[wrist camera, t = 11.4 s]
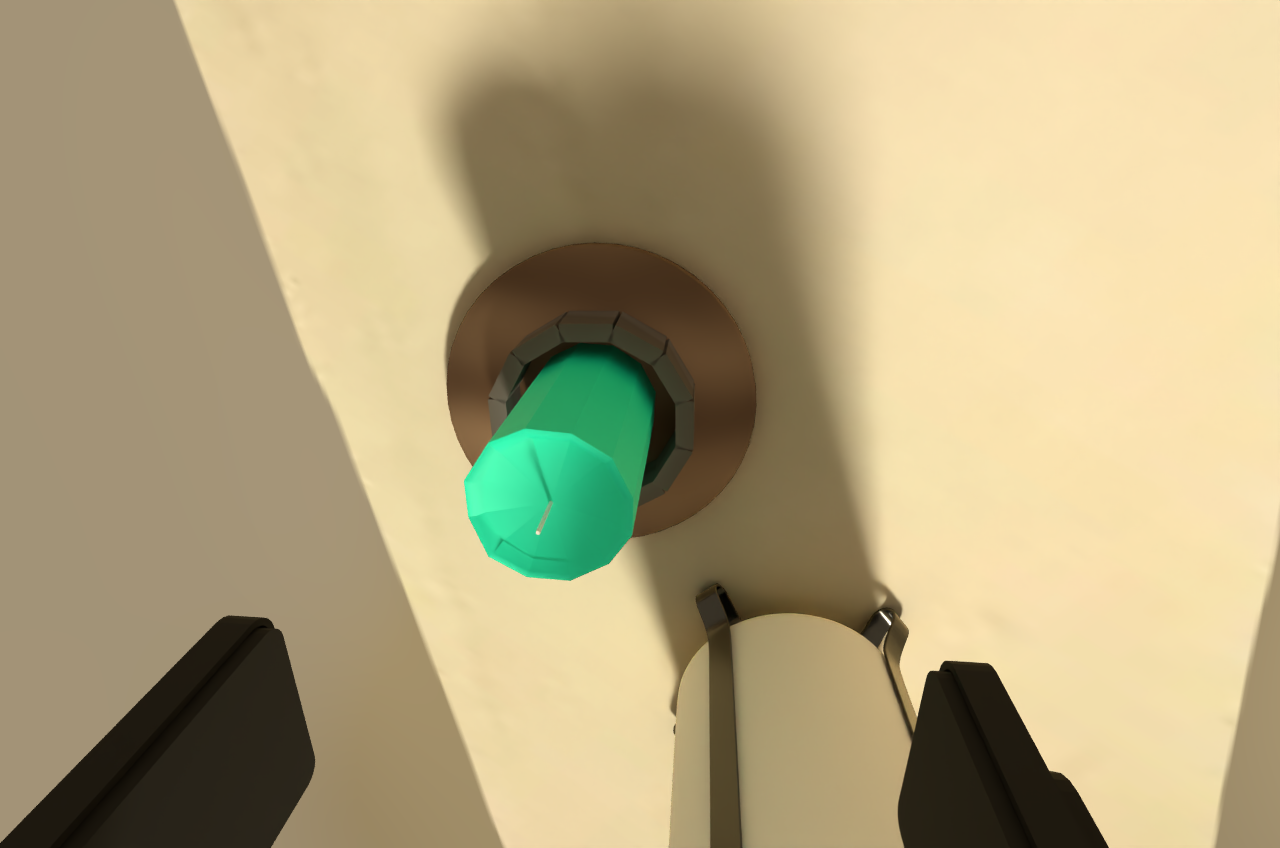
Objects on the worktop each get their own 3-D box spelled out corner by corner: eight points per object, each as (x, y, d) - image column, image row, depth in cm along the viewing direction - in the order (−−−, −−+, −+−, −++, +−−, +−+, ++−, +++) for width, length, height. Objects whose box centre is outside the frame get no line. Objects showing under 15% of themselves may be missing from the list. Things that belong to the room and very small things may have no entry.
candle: (642, 331, 31) (607, 432, 20) (667, 448, 33) (648, 599, 22) (519, 354, 32) (420, 462, 21) (551, 467, 34) (477, 619, 23)
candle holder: (434, 244, 32) (403, 255, 28) (761, 240, 30) (768, 252, 27) (471, 525, 37) (449, 561, 34) (748, 533, 36) (753, 571, 33)
